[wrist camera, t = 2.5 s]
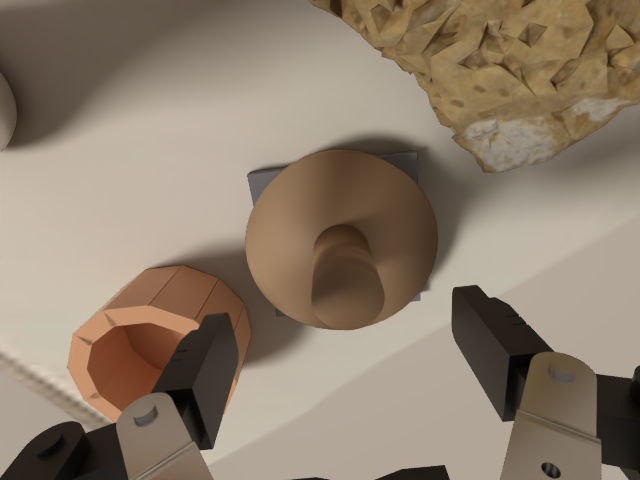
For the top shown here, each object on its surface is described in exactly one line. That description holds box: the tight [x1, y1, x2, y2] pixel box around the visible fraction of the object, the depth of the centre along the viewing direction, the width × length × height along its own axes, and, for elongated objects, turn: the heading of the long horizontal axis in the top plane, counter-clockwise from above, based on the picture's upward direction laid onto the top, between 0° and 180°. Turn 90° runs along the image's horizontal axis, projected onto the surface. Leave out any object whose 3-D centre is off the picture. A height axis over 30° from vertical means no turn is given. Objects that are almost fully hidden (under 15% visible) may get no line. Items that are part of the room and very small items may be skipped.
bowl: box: [67, 265, 252, 423], centre depth 21 cm, size 9×9×4 cm
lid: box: [245, 149, 438, 330], centre depth 17 cm, size 10×10×6 cm
